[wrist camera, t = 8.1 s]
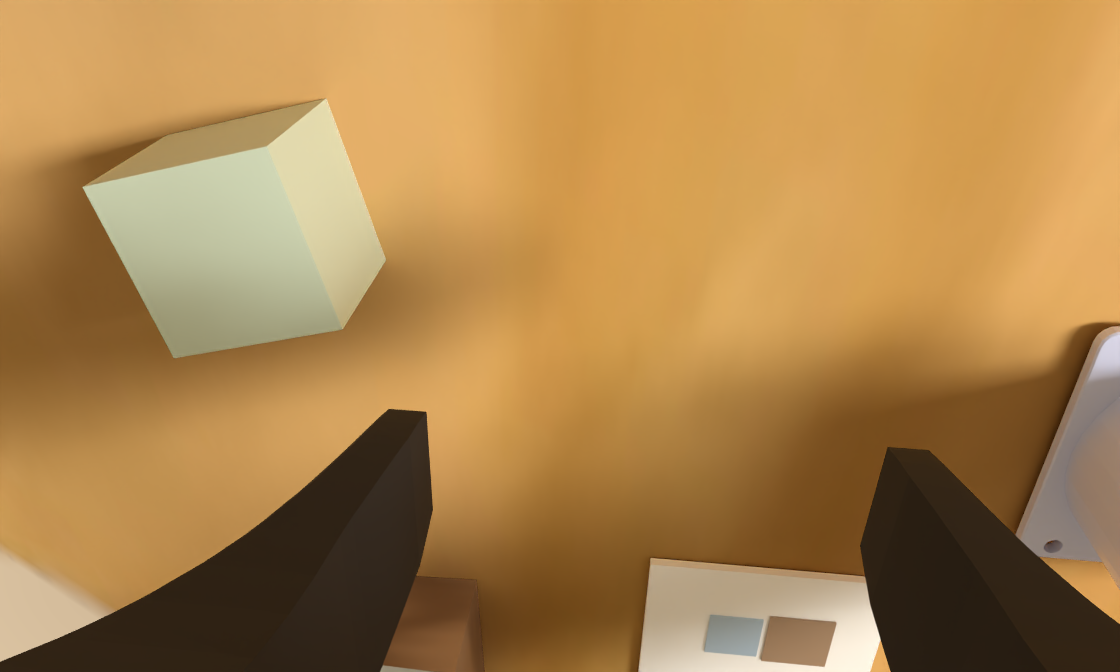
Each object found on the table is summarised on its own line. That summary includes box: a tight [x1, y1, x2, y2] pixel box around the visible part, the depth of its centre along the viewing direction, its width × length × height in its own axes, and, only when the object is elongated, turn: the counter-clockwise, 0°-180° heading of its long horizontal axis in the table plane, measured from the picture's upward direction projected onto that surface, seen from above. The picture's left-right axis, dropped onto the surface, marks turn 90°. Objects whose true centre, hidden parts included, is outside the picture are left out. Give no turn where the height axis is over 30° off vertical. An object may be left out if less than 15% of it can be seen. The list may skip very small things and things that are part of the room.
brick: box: [83, 99, 386, 358], centre depth 21 cm, size 5×5×4 cm
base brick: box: [383, 576, 485, 672], centre depth 30 cm, size 5×5×4 cm
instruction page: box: [638, 558, 880, 672], centre depth 30 cm, size 8×6×1 cm
